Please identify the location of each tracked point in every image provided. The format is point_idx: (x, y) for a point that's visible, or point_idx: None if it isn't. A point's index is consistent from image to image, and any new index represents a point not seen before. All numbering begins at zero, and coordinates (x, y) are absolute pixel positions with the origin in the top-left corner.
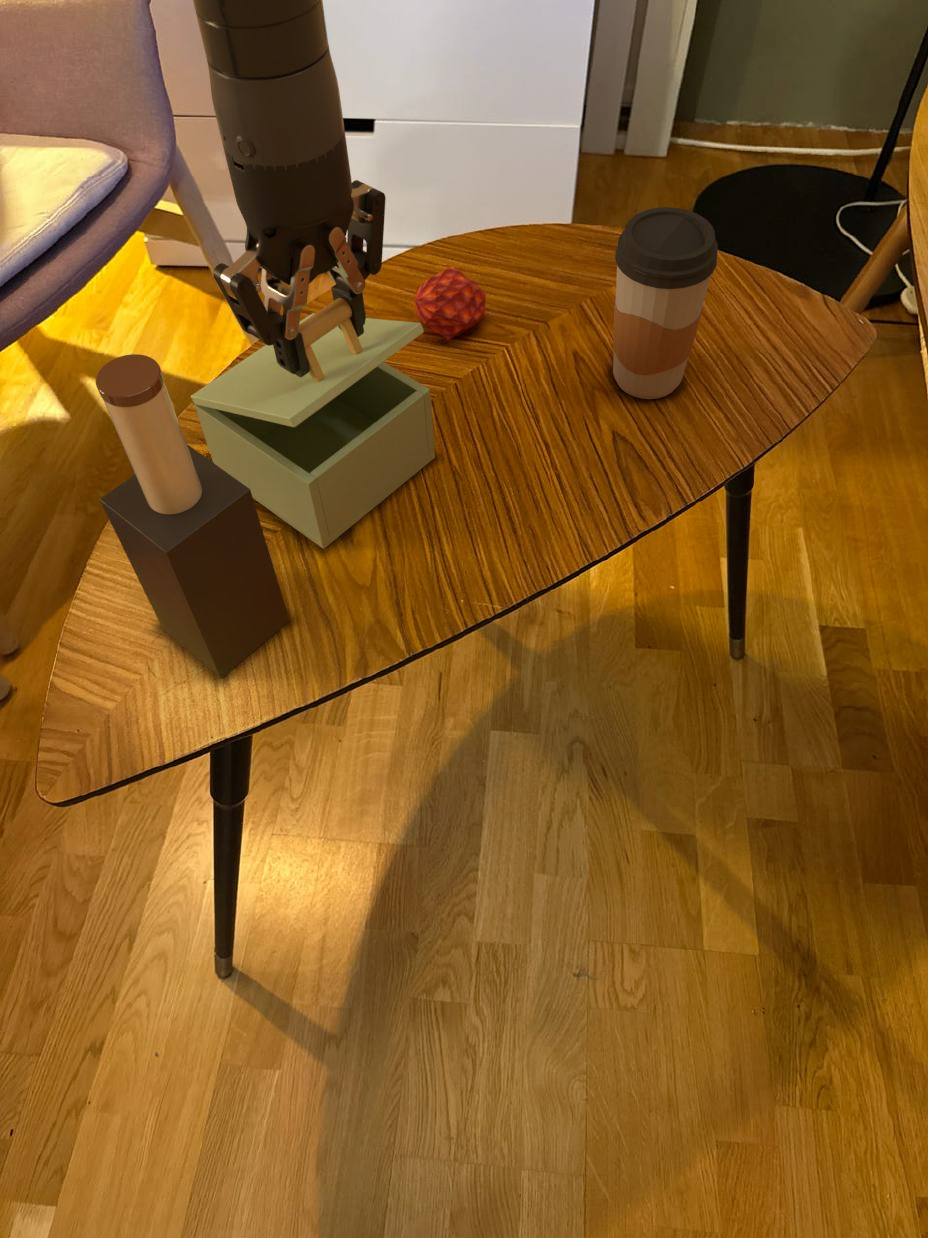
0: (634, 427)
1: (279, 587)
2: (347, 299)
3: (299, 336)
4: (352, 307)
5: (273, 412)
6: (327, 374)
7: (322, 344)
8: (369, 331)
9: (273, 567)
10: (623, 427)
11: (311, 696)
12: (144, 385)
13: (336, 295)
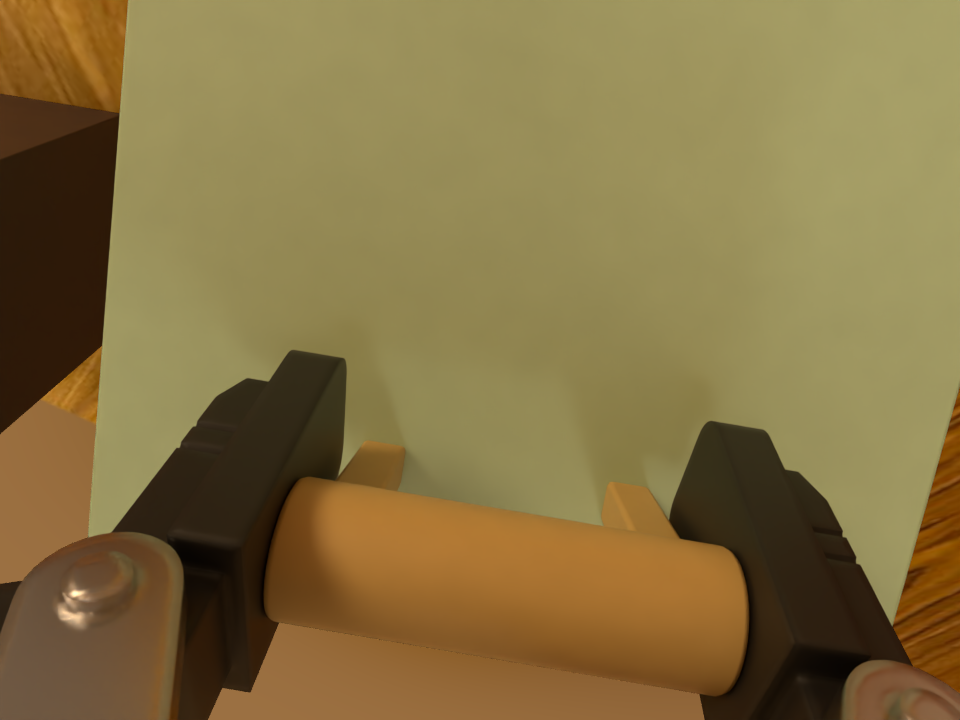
0: (946, 592)
1: (79, 364)
2: (726, 716)
3: (228, 683)
4: (703, 698)
5: (110, 412)
6: (426, 475)
7: (712, 194)
8: (826, 423)
9: (31, 406)
10: (940, 578)
11: (86, 418)
12: None
13: (758, 632)
